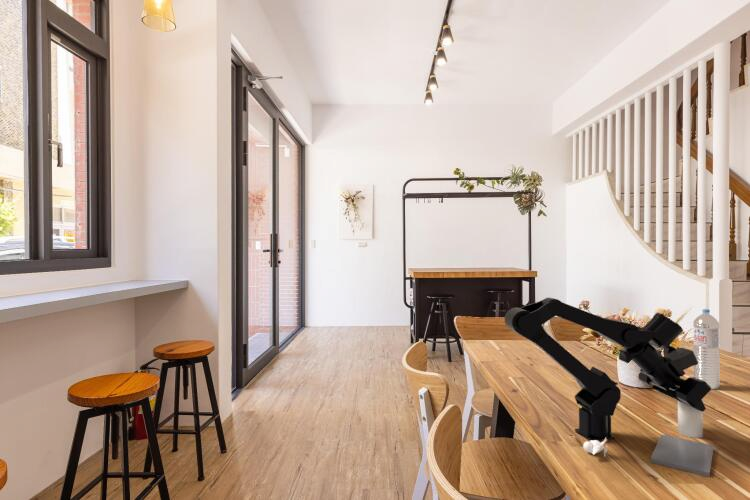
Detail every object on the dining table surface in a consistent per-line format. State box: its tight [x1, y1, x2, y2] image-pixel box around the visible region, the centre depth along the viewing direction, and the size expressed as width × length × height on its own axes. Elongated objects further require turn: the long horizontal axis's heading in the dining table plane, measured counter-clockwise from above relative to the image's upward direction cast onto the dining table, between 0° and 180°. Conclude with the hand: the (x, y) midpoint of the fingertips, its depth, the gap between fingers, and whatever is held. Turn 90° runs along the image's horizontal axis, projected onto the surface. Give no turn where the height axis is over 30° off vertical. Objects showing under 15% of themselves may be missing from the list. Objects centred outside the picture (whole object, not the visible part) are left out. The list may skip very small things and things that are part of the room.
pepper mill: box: [677, 398, 704, 439], centre depth 111 cm, size 5×5×12 cm
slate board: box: [650, 433, 714, 477], centre depth 99 cm, size 16×10×1 cm, turn 141°
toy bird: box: [582, 438, 609, 457], centre depth 100 cm, size 8×5×5 cm, turn 159°
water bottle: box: [693, 308, 721, 390], centre depth 148 cm, size 7×7×25 cm
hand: (695, 406), depth 111 cm, fingers closed on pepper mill, 5 cm apart
